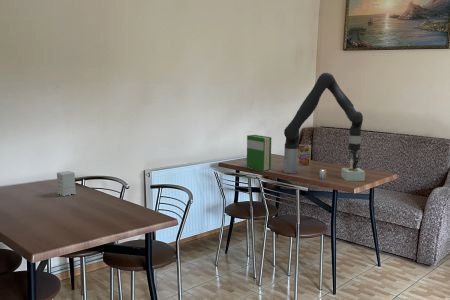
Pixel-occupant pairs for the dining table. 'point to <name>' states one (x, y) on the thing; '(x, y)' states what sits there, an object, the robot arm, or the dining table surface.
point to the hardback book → (259, 152)
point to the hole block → (353, 174)
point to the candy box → (304, 155)
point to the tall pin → (352, 165)
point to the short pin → (322, 174)
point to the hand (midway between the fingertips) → (353, 167)
